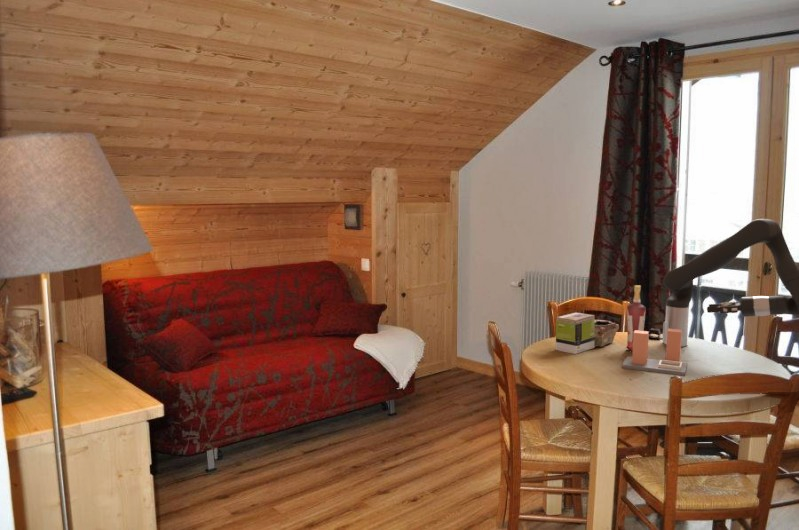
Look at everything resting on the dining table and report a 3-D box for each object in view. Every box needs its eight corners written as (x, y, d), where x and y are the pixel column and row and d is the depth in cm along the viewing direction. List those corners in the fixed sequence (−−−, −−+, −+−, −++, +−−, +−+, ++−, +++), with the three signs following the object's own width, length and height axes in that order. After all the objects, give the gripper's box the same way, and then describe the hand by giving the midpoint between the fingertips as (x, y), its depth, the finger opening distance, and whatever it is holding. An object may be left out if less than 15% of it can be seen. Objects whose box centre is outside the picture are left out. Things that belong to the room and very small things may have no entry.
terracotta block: (665, 360, 254) (667, 331, 253) (666, 357, 259) (668, 328, 257) (679, 361, 252) (681, 332, 251) (680, 358, 256) (681, 329, 255)
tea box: (574, 344, 281) (575, 311, 279) (594, 348, 273) (596, 314, 271) (554, 350, 271) (555, 316, 269) (574, 354, 263) (576, 319, 262)
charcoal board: (622, 367, 243) (623, 334, 242) (627, 359, 256) (628, 327, 254) (684, 375, 233) (686, 340, 232) (686, 366, 246) (688, 332, 244)
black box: (671, 340, 291) (672, 329, 290) (667, 343, 285) (667, 332, 284) (641, 336, 298) (642, 326, 298) (637, 339, 292) (637, 329, 292)
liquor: (643, 353, 264) (646, 287, 261) (625, 352, 267) (627, 286, 264) (644, 349, 271) (647, 285, 268) (625, 348, 274) (628, 284, 270)
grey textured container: (573, 343, 282) (574, 322, 281) (597, 336, 295) (598, 316, 294) (600, 349, 272) (601, 326, 271) (623, 341, 286) (624, 320, 285)
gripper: (754, 294, 246) (708, 297, 254) (754, 298, 233) (705, 300, 242) (756, 313, 246) (710, 315, 254) (756, 318, 234) (707, 320, 242)
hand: (708, 308), depth 248 cm, fingers open, 8 cm apart
